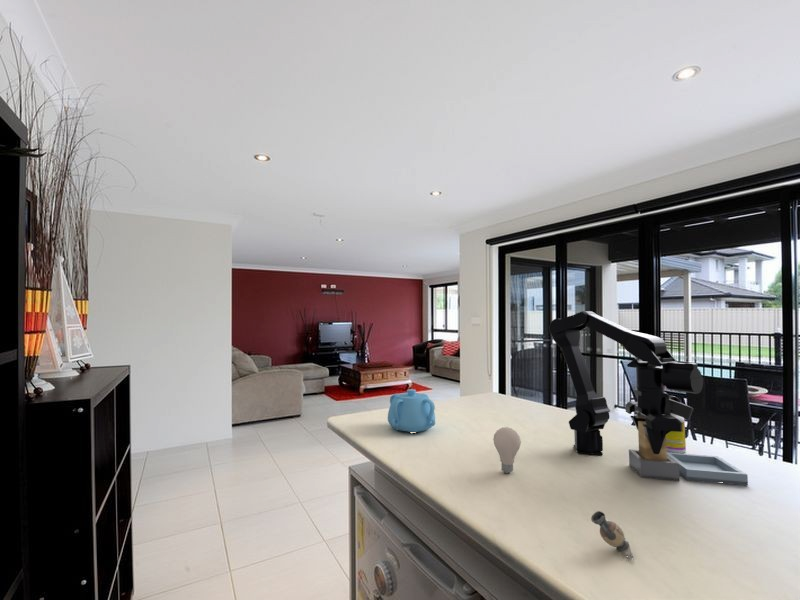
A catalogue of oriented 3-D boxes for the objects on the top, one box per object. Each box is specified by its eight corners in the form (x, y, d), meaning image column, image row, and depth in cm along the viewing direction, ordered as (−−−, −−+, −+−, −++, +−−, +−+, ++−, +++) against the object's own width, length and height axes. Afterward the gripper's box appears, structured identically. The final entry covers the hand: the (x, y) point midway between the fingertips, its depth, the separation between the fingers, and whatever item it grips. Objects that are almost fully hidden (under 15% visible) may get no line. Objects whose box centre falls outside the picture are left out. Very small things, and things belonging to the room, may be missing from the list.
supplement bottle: (690, 455, 106) (689, 408, 106) (664, 453, 107) (662, 407, 108) (678, 447, 112) (676, 403, 113) (653, 445, 113) (652, 402, 114)
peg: (646, 471, 91) (644, 425, 92) (639, 464, 96) (637, 421, 96) (667, 473, 90) (665, 427, 91) (659, 466, 95) (657, 422, 95)
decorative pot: (385, 436, 123) (385, 394, 123) (389, 422, 139) (389, 385, 139) (435, 437, 122) (435, 394, 123) (433, 423, 138) (433, 385, 139)
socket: (641, 477, 90) (640, 460, 90) (629, 465, 98) (628, 449, 98) (679, 481, 88) (678, 463, 88) (664, 468, 96) (663, 452, 96)
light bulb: (521, 469, 95) (520, 425, 95) (521, 479, 89) (520, 432, 89) (494, 466, 97) (494, 422, 98) (492, 476, 91) (491, 429, 91)
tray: (687, 480, 89) (686, 469, 89) (664, 461, 100) (664, 452, 100) (747, 485, 86) (747, 474, 86) (717, 466, 97) (717, 456, 97)
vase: (595, 558, 59) (593, 517, 60) (589, 542, 65) (587, 504, 65) (634, 564, 58) (631, 522, 59) (625, 547, 63) (623, 509, 64)
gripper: (708, 395, 83) (711, 467, 82) (670, 382, 101) (672, 441, 100) (651, 393, 86) (653, 463, 85) (624, 380, 104) (625, 438, 103)
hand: (652, 450), depth 93 cm, fingers closed on peg, 4 cm apart
